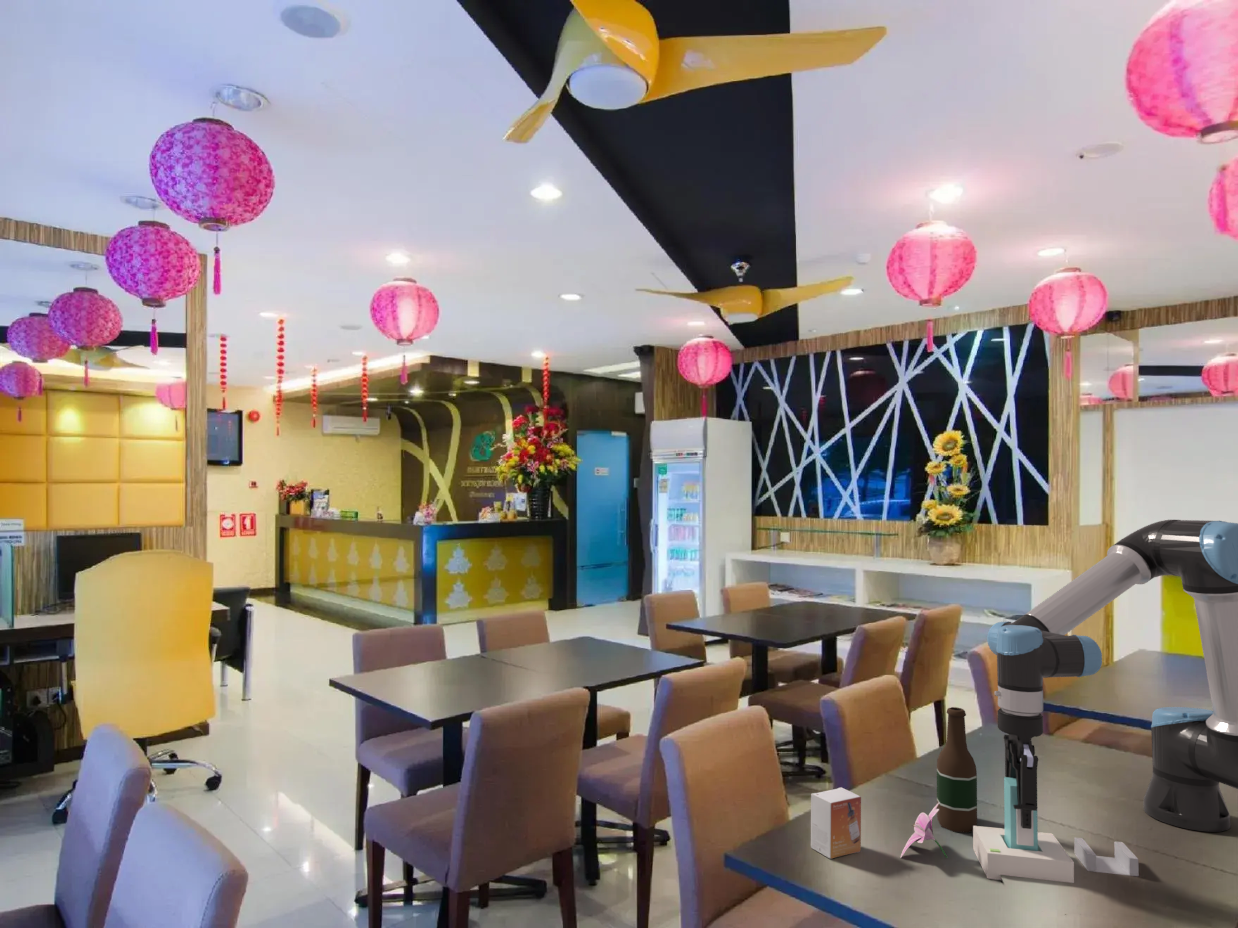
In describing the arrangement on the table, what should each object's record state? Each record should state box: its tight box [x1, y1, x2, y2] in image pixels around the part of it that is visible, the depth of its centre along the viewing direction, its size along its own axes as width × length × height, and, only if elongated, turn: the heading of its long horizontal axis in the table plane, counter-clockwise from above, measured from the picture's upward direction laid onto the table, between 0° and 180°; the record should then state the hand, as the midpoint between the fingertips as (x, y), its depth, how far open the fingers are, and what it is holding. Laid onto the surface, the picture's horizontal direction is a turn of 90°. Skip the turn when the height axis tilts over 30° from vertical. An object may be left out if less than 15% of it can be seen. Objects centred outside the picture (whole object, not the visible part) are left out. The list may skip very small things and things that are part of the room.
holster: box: [1073, 836, 1140, 877], centre depth 144 cm, size 8×7×4 cm
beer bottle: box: [936, 706, 978, 834], centre depth 163 cm, size 8×8×24 cm
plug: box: [1003, 776, 1039, 851], centre depth 145 cm, size 4×4×12 cm
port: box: [972, 825, 1075, 884], centre depth 144 cm, size 14×12×5 cm
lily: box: [900, 803, 948, 859], centre depth 150 cm, size 12×12×10 cm
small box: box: [810, 786, 862, 859], centre depth 151 cm, size 8×6×10 cm
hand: (1020, 837), depth 145 cm, fingers closed on plug, 4 cm apart
